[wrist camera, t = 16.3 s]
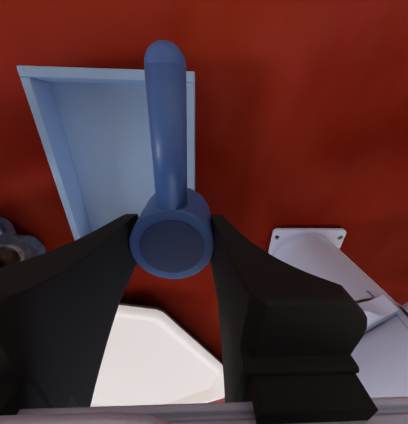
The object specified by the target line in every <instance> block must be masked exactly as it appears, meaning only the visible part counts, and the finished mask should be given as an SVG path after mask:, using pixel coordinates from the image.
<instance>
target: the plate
mask: <svg viewBox="0 0 408 424" xmlns="http://www.w3.org/2000/svg"><path fill="white" fill-rule="evenodd" d="M224 397H225V391H224V375H223V363H222V362H221V361H220V360H219V359H218V358H217V357H215V356H214V355H213V354H212V353H211V352H210V351H209V350H208V349H206V348H205V347H204V346H203V345H202V344H201V343H200V342H199V341H198V340H196V339H195V338H194V337H193V336H192V335H191V334H190V333H189V332H188V331H186V330H185V329H184V328H183V327H182V326H181V325H180V324H179V323H178V322H176V321H175V320H174V319H173V318H172V317H171V316H170V315H169V314H168V313H166V312H165V311H164V310H163V309H160V308H158V307H152V306H144V305H136V304H128V303H119V306H118V309H117V312H116V315H115V318H114V321H113V325H112V328H111V331H110V335H109V338H108V341H107V345H106V348H105V352H104V355H103V359H102V363H101V366H100V370H99V374H98V377H97V382H96V386H95V390H94V394H93V398H92V402H91V406H90V407H100V406H131V405H162V404H193V403H209V402H212V401H215V400H218V399H221V398H224Z"/></svg>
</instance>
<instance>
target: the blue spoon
mask: <svg viewBox="0 0 408 424" xmlns="http://www.w3.org/2000/svg"><path fill="white" fill-rule="evenodd" d="M144 71H145V82H146V93H147V105H148V116H149V127H150V138H151V150H152V161H153V172H154V183H155V194H154V195H152V197H151V198H150V199H149V201H148V202H147V204H146V206H145V208H144V209H143V211H142V213H141V215H140V216H139V218H138V220H137V222H136V223H135V225H134V227H133V229H132V231H131V233H130V237H129V246H130V251H131V254H132V256H133V258H134V259H135V261H136V262H137V263H138V264H139V265H140V266H141V267H142V268H143V269H144V270H146V271H147V272H149V273H151V274H153V275H155V276H158V277H162V278H168V279H180V278H185V277H189V276H192V275H194V274H196V273H198V272H199V271H201V270H202V269H203V268H205V267H206V266H207V264H208V263H209V262H210V260H211V258H212V256H213V253H214V235H213V230H212V223H211V214H210V209H209V206H208V204H207V202H206V201H205V199H204V198H203V197H202V196H201V195H200V194H199V193H197V192H196V191H194V190H192V189H190V188H187V87H186V62H185V58H184V56H183V54H182V52H181V50H180V49H179V48H178V47H177V46H176V45H175V44H174V43H172V42H170V41H167V40H157V41H155V42H153V43H152V44H151V45H150V46H149V47H148V49H147V51H146V53H145V57H144Z"/></svg>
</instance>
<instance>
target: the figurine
mask: <svg viewBox="0 0 408 424" xmlns="http://www.w3.org/2000/svg"><path fill="white" fill-rule="evenodd" d="M44 253H46V250H45V247H44V245H43V243H42V242H41V241H40V240H38V239H37V238H36V237H34V236H32V235H19V234H17V233H16V231H15V229H14V227H13V225H12V223H11V222H10V221H9V220H7V219H6V218H4V217H1V216H0V268H1V267H4V266H8V265H11V264H14V263H18V262H21V261H24V260H27V259H29V258H32V257H35V256H38V255H41V254H44Z"/></svg>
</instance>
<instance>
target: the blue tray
mask: <svg viewBox="0 0 408 424" xmlns="http://www.w3.org/2000/svg"><path fill="white" fill-rule="evenodd" d="M16 67H17V70H18V73H19V76H20V79H21V82H22V85H23V88H24V91H25V94H26V97H27V100H28V103H29V106H30V109H31V112H32V115H33V118H34V121H35V124H36V127H37V130H38V132H39V135H40V138H41V141H42V144H43V147H44V150H45V153H46V156H47V159H48V162H49V165H50V168H51V171H52V174H53V177H54V180H55V183H56V186H57V189H58V192H59V195H60V198H61V201H62V204H63V207H64V210H65V213H66V216H67V219H68V222H69V225H70V228H71V231H72V234H73V237H74V240H77V239H80V238H81V237H83V236H85V235H87V234H89V233H91V232H93V231H95V230H97V229H99V228H101V227H102V226H104V225H106V224H108V223H110V222H111V221H113V220H115V219H117V218H119V217H121V216H123V215H125V214H138V218H139V216H140V215H141V213H142V211H143V209H144V208H145V206H146V204H147V202H148V201H149V199H150V198H151V197H152V195H154V194H155V183H154V172H153V161H152V150H151V138H150V127H149V116H148V105H147V93H146V82H145V71H144V70H138V69H109V68H80V67H51V66H21V65H17V66H16ZM186 87H187V188H190V189H192V190H194V191H195V72H194V71H186Z"/></svg>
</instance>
